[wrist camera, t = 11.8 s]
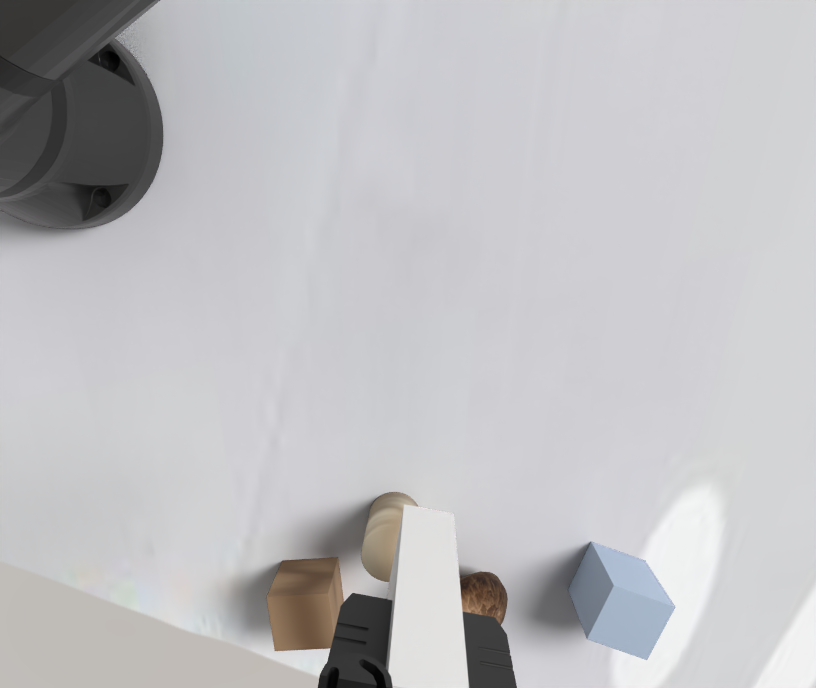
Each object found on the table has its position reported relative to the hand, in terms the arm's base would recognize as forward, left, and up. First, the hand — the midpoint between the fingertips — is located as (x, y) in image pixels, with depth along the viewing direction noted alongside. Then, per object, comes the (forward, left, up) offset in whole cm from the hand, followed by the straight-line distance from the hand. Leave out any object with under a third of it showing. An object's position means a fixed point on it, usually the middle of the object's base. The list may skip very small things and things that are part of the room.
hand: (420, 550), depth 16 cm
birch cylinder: (0, -15, -28) cm, 32 cm away
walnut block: (-6, -23, -29) cm, 37 cm away
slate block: (+19, -17, -29) cm, 38 cm away
